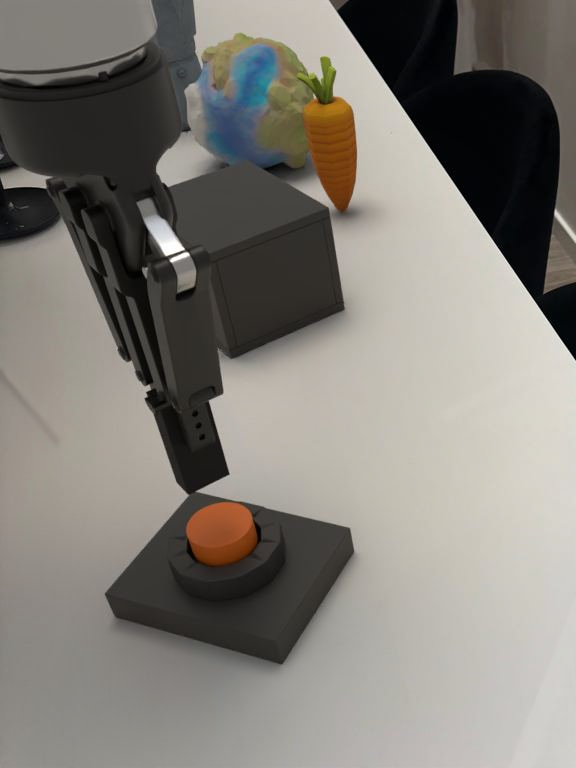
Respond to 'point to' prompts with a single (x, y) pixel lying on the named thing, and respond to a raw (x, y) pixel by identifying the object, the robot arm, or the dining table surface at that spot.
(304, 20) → the dining table surface
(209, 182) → the dark grey panelled cube
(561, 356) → the dining table surface
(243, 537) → the button
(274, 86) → the decorative rock
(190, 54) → the moka pot
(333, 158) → the carrot
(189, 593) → the control pad
